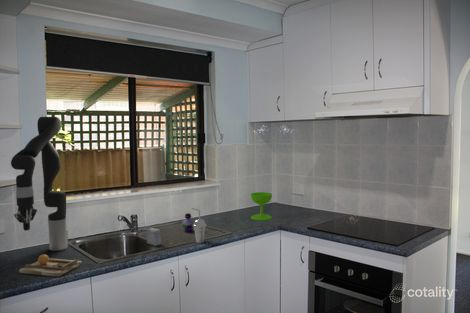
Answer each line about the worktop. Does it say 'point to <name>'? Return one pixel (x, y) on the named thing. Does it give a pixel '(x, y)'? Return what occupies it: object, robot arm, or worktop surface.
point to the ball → (43, 259)
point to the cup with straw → (199, 228)
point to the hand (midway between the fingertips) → (26, 230)
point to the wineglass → (261, 204)
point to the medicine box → (153, 236)
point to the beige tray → (51, 267)
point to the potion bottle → (188, 223)
